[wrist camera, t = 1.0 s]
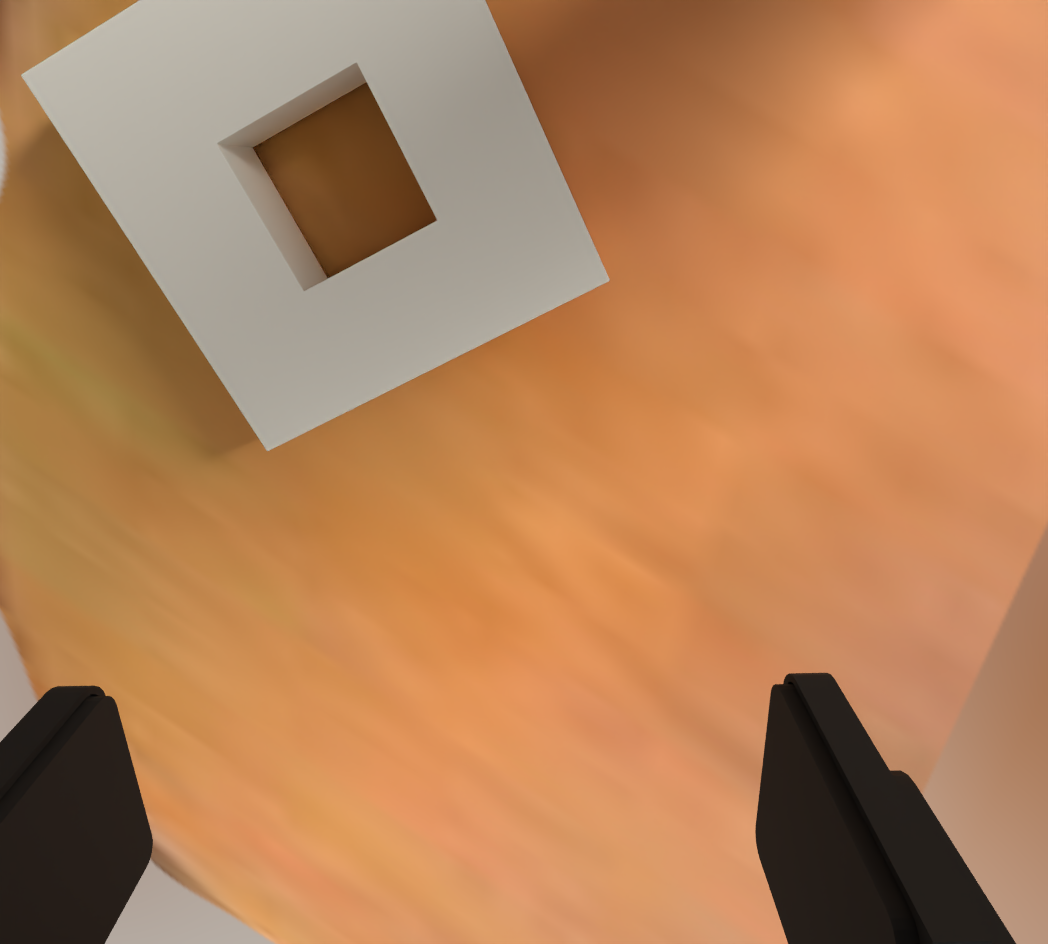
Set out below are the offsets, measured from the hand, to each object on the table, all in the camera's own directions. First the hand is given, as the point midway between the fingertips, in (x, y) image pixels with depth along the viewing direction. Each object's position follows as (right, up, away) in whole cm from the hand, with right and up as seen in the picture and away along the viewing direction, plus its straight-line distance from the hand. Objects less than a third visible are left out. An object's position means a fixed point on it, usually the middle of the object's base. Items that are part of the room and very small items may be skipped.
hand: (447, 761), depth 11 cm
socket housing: (-6, +16, +22) cm, 28 cm away
